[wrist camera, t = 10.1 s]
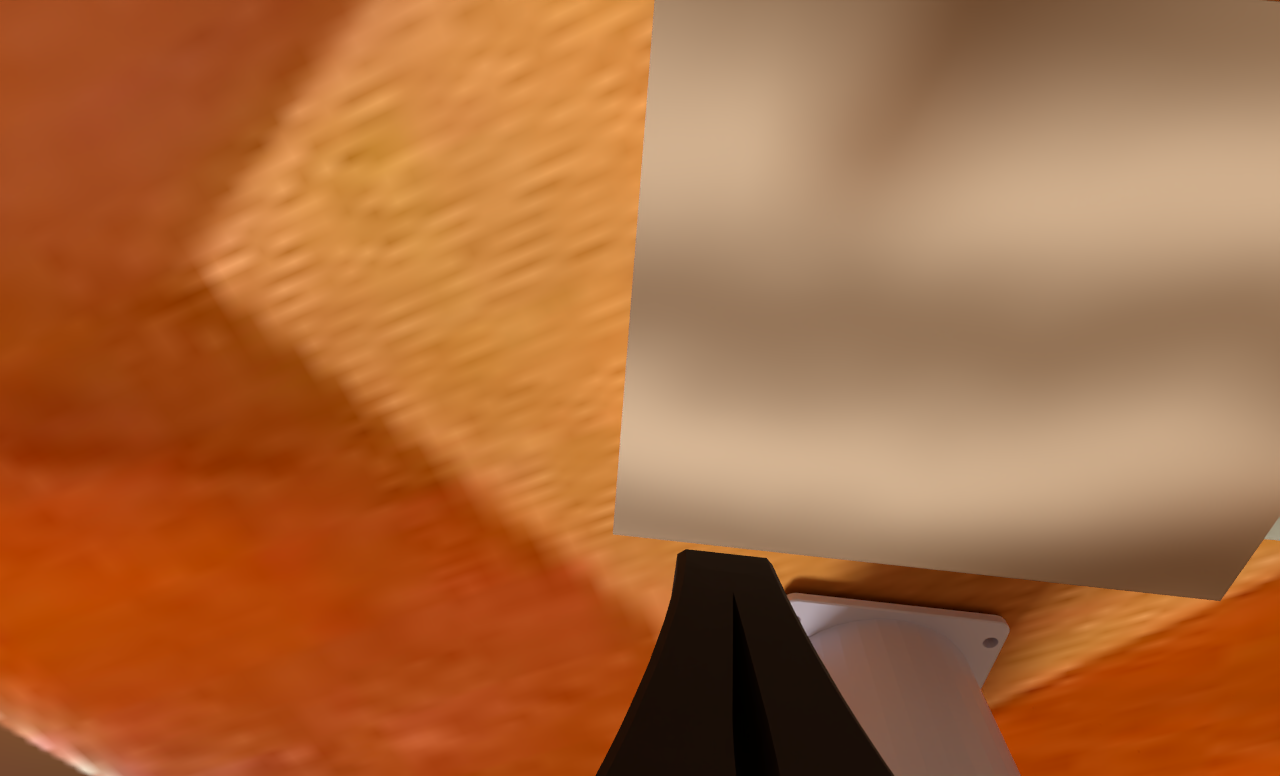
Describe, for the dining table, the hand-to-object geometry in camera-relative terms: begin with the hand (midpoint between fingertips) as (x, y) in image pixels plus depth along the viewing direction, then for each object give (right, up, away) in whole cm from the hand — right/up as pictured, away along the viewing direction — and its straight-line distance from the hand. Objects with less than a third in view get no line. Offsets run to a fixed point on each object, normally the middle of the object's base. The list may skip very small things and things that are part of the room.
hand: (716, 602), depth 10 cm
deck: (+7, +6, +7) cm, 12 cm away
